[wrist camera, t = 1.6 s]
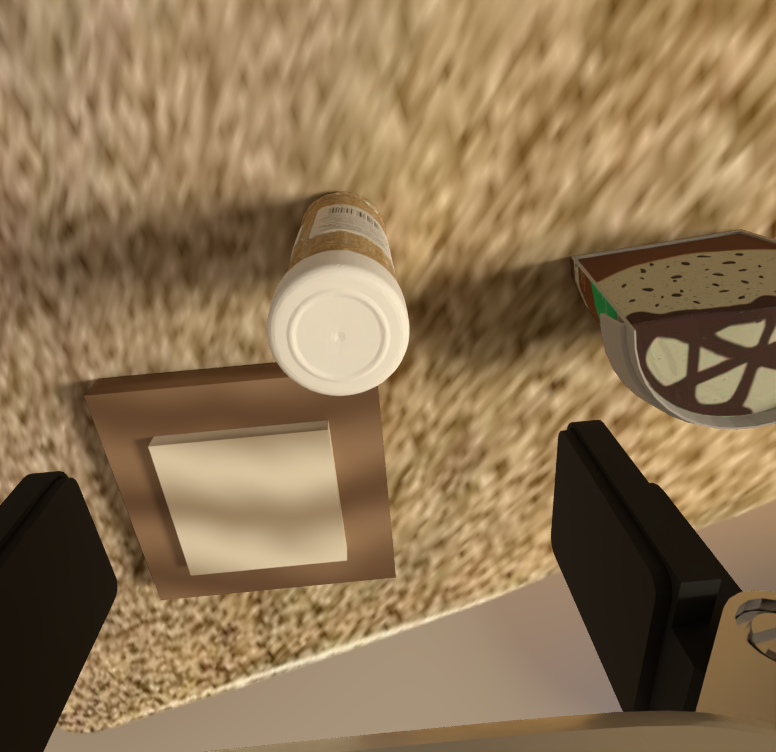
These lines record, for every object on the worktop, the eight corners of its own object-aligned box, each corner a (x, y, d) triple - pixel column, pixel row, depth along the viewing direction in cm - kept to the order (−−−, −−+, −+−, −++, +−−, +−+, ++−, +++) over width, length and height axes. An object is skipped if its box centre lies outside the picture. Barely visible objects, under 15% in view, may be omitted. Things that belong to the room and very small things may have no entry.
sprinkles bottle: (283, 242, 29) (235, 350, 18) (334, 170, 28) (320, 234, 16) (353, 293, 31) (353, 424, 19) (405, 226, 29) (441, 324, 17)
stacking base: (98, 378, 32) (76, 405, 30) (374, 353, 33) (376, 377, 30) (169, 577, 40) (156, 612, 37) (393, 555, 40) (396, 589, 37)
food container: (544, 360, 34) (613, 460, 25) (543, 260, 31) (620, 333, 22) (751, 328, 33) (895, 417, 24) (768, 224, 30) (939, 282, 22)
